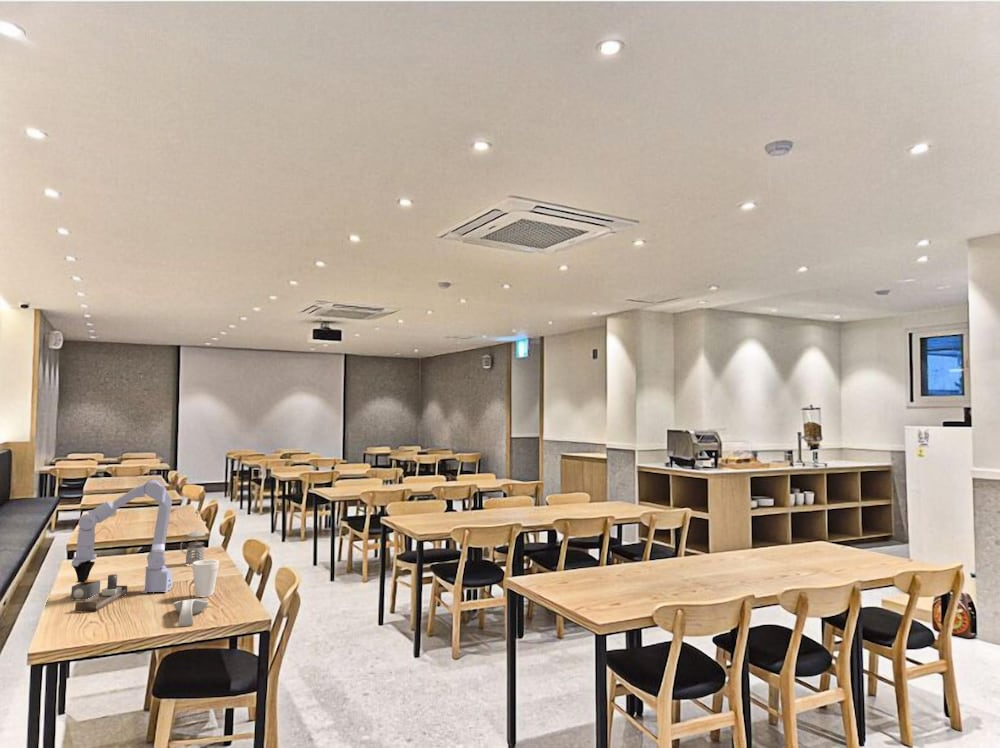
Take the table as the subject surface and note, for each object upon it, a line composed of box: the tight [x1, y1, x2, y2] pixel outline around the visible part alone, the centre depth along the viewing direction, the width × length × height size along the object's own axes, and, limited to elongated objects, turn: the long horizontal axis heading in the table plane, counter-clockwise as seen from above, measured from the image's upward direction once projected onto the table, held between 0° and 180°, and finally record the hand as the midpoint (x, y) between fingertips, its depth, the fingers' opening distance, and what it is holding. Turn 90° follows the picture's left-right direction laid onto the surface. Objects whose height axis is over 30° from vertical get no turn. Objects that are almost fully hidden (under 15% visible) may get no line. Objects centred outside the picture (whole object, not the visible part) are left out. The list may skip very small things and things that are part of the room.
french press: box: [180, 510, 206, 565], centre depth 321 cm, size 10×12×25 cm
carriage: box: [101, 573, 122, 596], centre depth 260 cm, size 5×5×7 cm
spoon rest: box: [172, 598, 210, 627], centre depth 237 cm, size 24×12×7 cm, turn 20°
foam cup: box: [191, 559, 220, 597], centre depth 265 cm, size 10×9×13 cm
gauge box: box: [70, 579, 101, 600], centre depth 261 cm, size 6×10×5 cm, turn 5°
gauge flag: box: [76, 579, 97, 584], centre depth 261 cm, size 4×7×1 cm, turn 5°
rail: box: [74, 585, 128, 613], centre depth 253 cm, size 7×24×3 cm, turn 5°
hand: (82, 581), depth 259 cm, fingers closed, pressing on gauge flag
